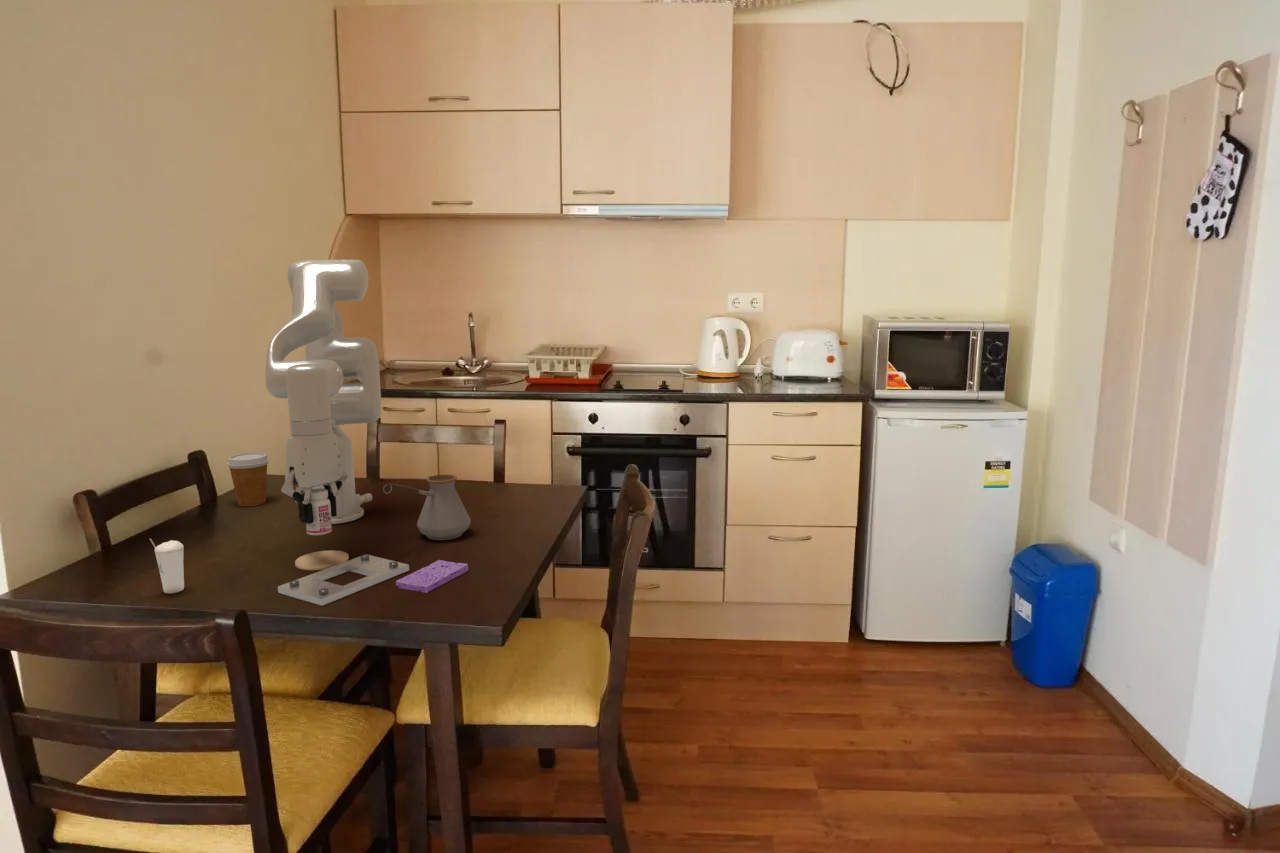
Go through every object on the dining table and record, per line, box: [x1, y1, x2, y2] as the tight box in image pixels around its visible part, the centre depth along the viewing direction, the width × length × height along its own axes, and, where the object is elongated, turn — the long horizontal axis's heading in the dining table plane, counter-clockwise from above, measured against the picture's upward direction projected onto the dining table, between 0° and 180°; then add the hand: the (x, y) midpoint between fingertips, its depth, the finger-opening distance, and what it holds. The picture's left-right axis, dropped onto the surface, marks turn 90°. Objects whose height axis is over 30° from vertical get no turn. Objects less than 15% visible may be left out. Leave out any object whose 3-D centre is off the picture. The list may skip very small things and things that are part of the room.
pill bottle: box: [305, 488, 333, 536], centre depth 164 cm, size 5×5×8 cm
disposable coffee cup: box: [226, 452, 270, 507], centre depth 208 cm, size 10×10×12 cm
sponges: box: [395, 559, 469, 594], centre depth 156 cm, size 7×13×2 cm, turn 155°
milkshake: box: [149, 538, 185, 595], centre depth 151 cm, size 4×5×10 cm
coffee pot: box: [382, 474, 472, 541], centre depth 177 cm, size 21×12×15 cm, turn 149°
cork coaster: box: [294, 549, 350, 571], centre depth 166 cm, size 10×10×1 cm
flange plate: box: [277, 554, 410, 607], centre depth 155 cm, size 20×12×2 cm, turn 149°
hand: (318, 518), depth 164 cm, fingers closed on pill bottle, 4 cm apart
